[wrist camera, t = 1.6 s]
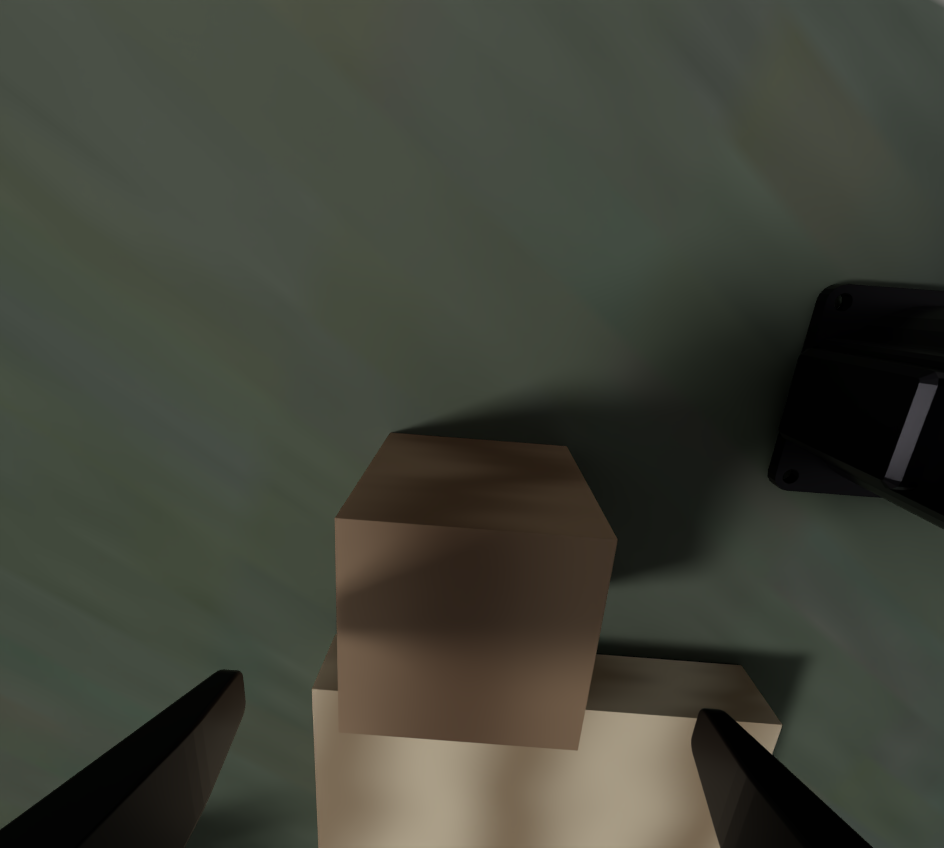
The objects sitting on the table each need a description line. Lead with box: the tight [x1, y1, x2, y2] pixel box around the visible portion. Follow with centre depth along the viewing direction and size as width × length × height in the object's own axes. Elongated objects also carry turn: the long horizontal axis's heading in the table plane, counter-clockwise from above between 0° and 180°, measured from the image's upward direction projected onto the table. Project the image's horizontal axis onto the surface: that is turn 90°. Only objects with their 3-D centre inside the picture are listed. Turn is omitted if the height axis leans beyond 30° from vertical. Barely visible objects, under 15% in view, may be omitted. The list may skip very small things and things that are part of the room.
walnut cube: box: [335, 433, 618, 751], centre depth 13 cm, size 6×6×6 cm
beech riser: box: [312, 634, 782, 848], centre depth 18 cm, size 16×12×2 cm
